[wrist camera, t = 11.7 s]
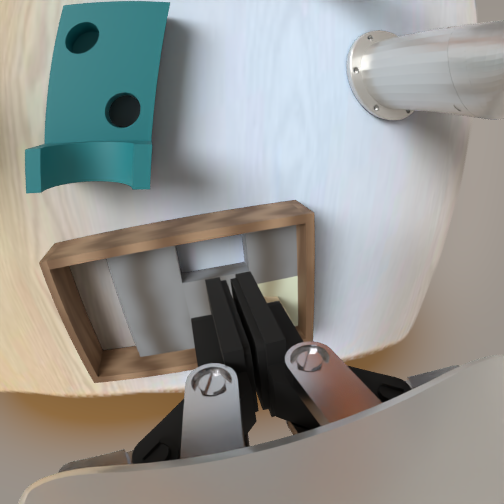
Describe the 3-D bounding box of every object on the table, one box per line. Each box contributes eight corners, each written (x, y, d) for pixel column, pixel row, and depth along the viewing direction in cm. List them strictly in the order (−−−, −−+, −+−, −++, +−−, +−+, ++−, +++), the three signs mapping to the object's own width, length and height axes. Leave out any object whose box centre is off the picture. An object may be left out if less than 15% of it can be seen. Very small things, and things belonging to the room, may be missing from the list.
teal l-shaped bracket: (148, 169, 33) (149, 189, 24) (57, 172, 29) (26, 193, 20) (166, 17, 26) (176, -19, 17) (73, 19, 22) (50, -14, 13)
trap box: (295, 199, 38) (314, 212, 33) (298, 319, 45) (312, 342, 40) (54, 243, 32) (39, 262, 27) (99, 356, 40) (94, 382, 35)
